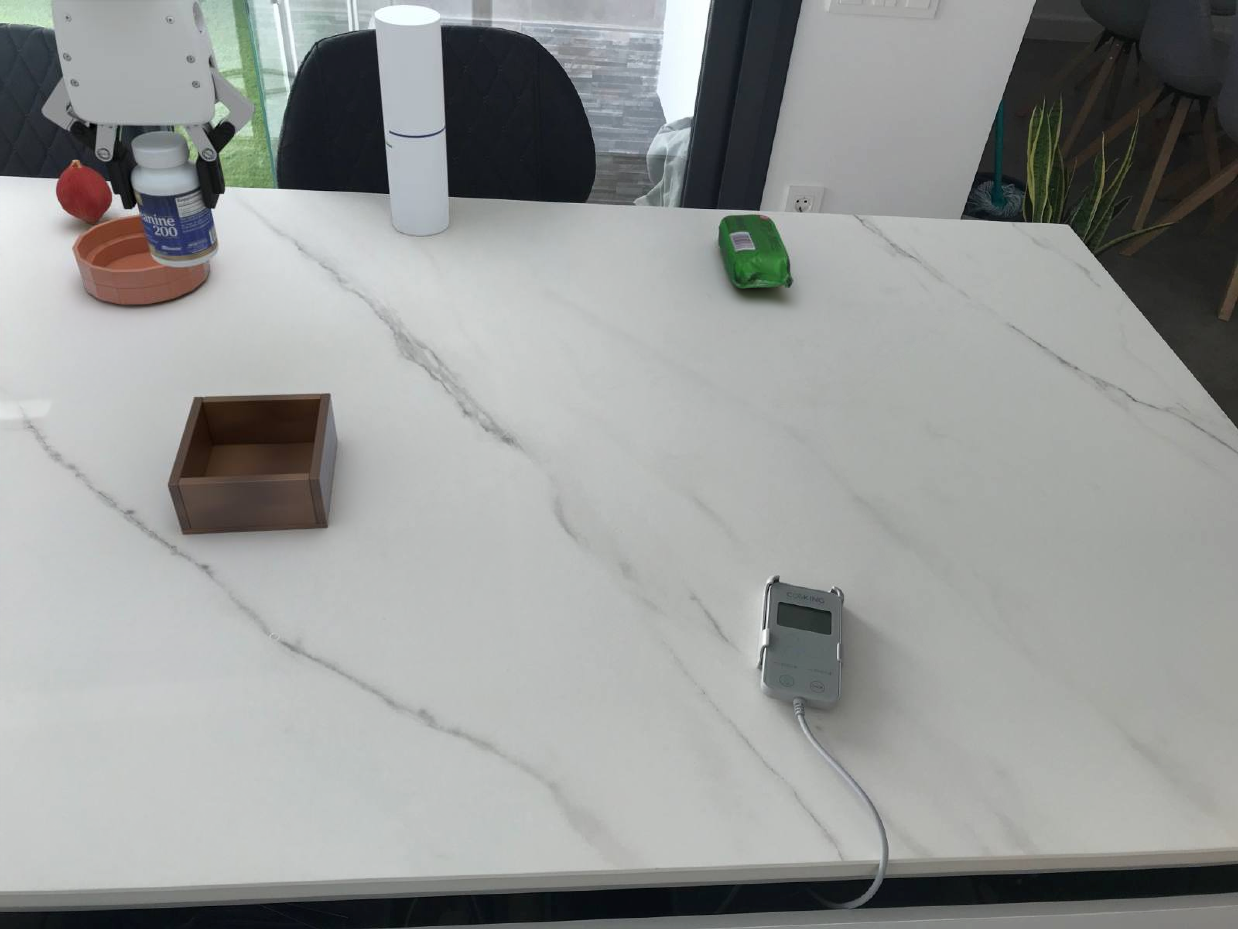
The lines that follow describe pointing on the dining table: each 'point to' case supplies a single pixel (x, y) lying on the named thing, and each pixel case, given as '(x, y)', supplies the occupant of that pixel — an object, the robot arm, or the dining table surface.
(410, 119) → the cylindrical container
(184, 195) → the pill bottle
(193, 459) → the holder
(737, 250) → the snack package
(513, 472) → the dining table surface
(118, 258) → the bowl
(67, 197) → the onion
